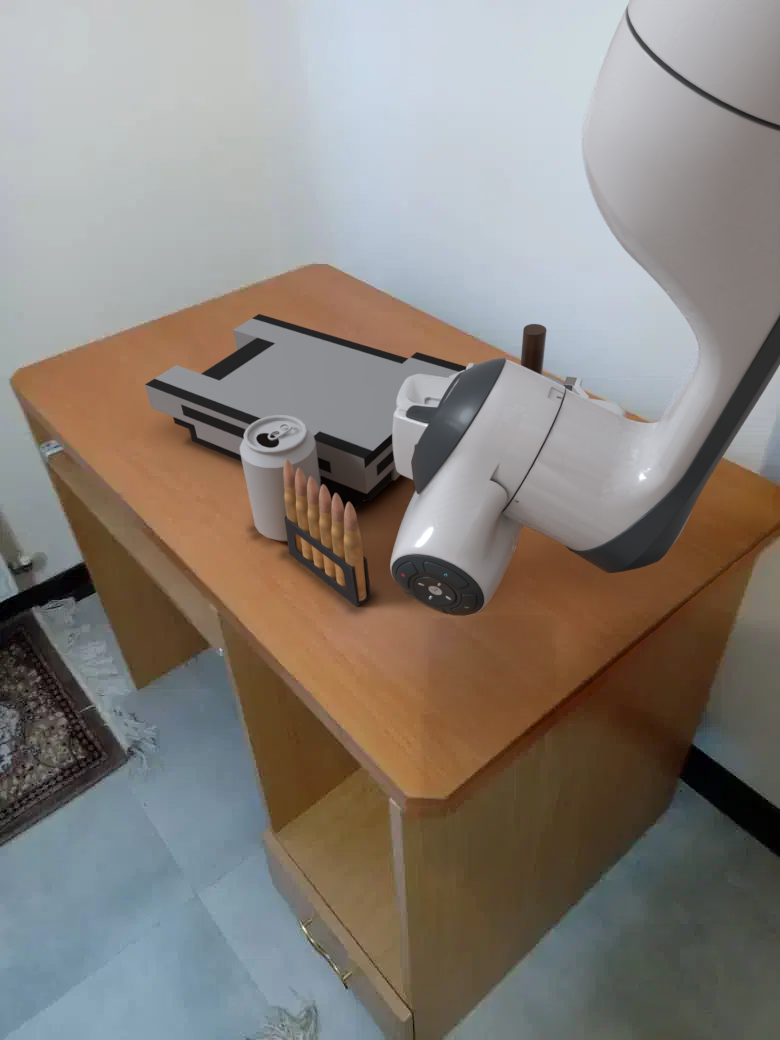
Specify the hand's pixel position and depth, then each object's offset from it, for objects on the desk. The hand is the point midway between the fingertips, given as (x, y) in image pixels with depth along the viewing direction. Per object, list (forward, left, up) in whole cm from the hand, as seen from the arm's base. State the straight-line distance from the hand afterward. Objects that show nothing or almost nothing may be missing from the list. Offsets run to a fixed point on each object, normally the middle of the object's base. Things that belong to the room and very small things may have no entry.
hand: (524, 376), depth 76 cm
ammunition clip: (+15, +16, -16) cm, 27 cm away
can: (+22, +10, -16) cm, 29 cm away
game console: (+27, -6, -16) cm, 32 cm away
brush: (0, -3, -15) cm, 15 cm away
